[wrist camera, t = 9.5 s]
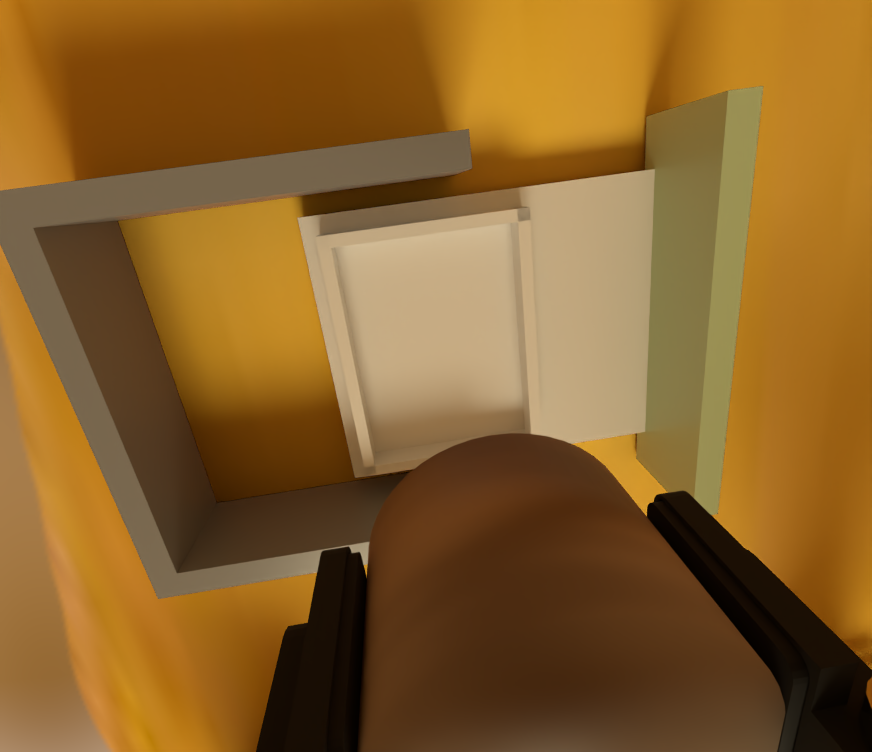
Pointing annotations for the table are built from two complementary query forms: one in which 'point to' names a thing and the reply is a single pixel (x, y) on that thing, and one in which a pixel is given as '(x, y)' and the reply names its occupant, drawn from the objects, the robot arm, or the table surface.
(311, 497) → the frame
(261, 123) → the table surface
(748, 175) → the tray
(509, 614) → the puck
